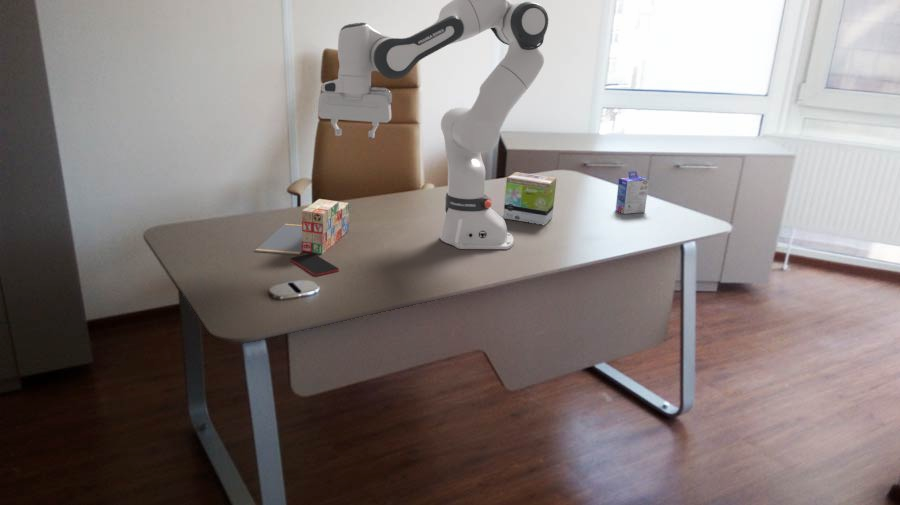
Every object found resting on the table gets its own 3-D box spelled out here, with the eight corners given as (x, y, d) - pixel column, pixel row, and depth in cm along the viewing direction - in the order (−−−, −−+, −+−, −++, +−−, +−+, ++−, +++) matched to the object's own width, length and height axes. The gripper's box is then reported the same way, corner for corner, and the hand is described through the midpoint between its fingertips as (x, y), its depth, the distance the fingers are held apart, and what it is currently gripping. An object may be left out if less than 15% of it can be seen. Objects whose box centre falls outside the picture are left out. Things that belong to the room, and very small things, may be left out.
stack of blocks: (329, 228, 203) (330, 190, 199) (348, 231, 202) (350, 193, 198) (301, 251, 183) (301, 209, 179) (322, 254, 182) (323, 212, 178)
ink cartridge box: (635, 208, 240) (641, 169, 235) (645, 212, 235) (651, 173, 230) (614, 210, 236) (619, 171, 231) (623, 214, 232) (629, 174, 226)
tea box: (502, 219, 220) (505, 177, 215) (511, 212, 229) (514, 171, 224) (545, 226, 215) (550, 182, 210) (553, 218, 224) (557, 176, 219)
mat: (325, 227, 205) (325, 226, 204) (299, 255, 181) (299, 253, 181) (285, 224, 206) (284, 223, 206) (254, 251, 182) (254, 250, 182)
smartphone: (313, 252, 182) (340, 269, 171) (313, 255, 182) (340, 272, 172) (288, 258, 178) (315, 275, 167) (288, 261, 178) (315, 278, 167)
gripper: (394, 86, 178) (393, 137, 183) (322, 82, 181) (323, 132, 185) (389, 89, 173) (388, 141, 177) (315, 84, 175) (316, 135, 180)
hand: (354, 136), depth 181 cm, fingers open, 8 cm apart
